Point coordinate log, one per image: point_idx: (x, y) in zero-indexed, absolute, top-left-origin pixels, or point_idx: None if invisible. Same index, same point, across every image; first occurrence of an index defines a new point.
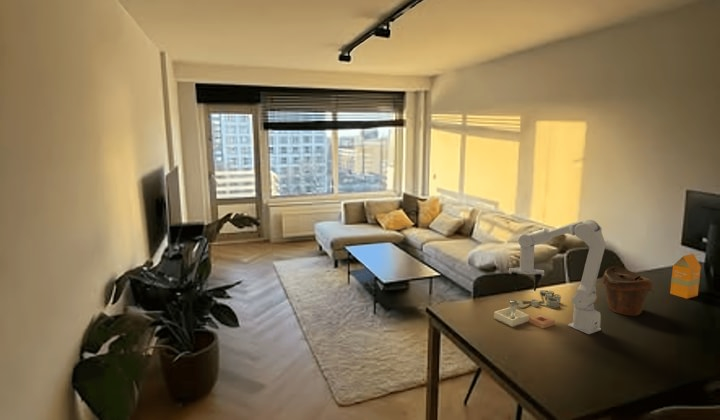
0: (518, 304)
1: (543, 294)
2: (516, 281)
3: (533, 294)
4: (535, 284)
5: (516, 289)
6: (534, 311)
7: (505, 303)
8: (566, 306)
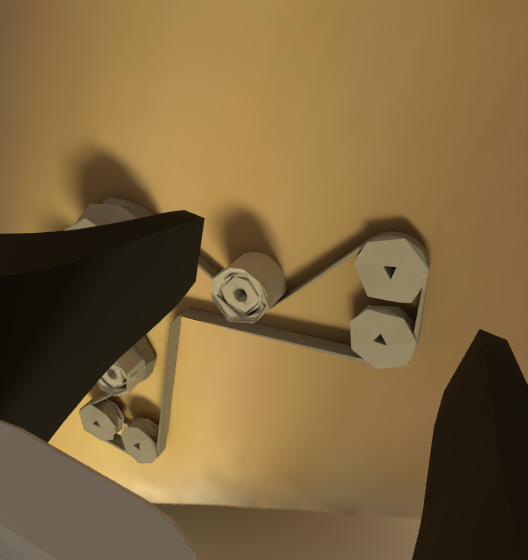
0: (413, 298)
1: (148, 419)
2: (520, 450)
3: (209, 448)
4: (110, 244)
5: (494, 336)
6: (305, 145)
7: (524, 374)
8: (46, 221)
